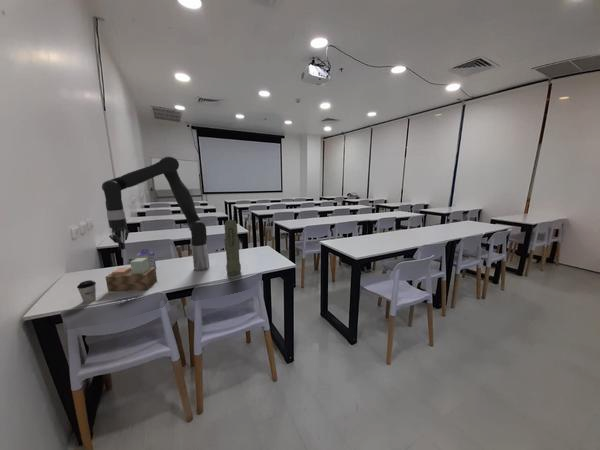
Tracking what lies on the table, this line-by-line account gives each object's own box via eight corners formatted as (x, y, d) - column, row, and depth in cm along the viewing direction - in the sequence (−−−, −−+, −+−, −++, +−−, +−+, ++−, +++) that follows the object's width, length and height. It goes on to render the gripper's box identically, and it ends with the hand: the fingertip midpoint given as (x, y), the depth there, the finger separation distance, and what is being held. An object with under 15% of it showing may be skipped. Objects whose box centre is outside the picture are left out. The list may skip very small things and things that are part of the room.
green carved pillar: (239, 269, 154) (236, 218, 148) (242, 275, 144) (238, 221, 137) (226, 271, 151) (222, 219, 144) (227, 278, 140) (223, 222, 134)
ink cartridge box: (156, 268, 157) (153, 248, 154) (155, 270, 152) (152, 250, 150) (139, 270, 153) (136, 250, 150) (137, 273, 148) (134, 252, 145)
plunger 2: (150, 273, 133) (147, 257, 131) (144, 278, 127) (141, 261, 125) (139, 274, 132) (136, 258, 130) (132, 278, 126) (130, 261, 124)
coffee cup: (77, 302, 113) (73, 284, 111) (93, 296, 119) (90, 278, 117) (85, 305, 110) (81, 286, 108) (102, 298, 117) (98, 280, 115)
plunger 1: (133, 283, 133) (130, 267, 131) (126, 288, 127) (123, 271, 125) (122, 284, 132) (119, 267, 130) (115, 288, 126) (112, 272, 124)
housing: (157, 281, 136) (155, 267, 135) (147, 290, 126) (145, 274, 124) (121, 283, 134) (119, 268, 132) (108, 292, 123) (105, 276, 122)
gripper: (115, 220, 116) (121, 252, 119) (131, 216, 129) (136, 245, 132) (100, 220, 115) (106, 253, 119) (117, 216, 128) (123, 245, 131)
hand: (122, 249), depth 125 cm, fingers closed
